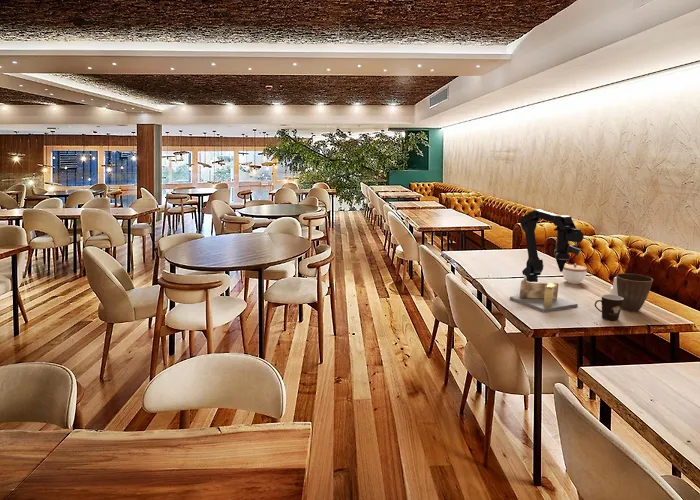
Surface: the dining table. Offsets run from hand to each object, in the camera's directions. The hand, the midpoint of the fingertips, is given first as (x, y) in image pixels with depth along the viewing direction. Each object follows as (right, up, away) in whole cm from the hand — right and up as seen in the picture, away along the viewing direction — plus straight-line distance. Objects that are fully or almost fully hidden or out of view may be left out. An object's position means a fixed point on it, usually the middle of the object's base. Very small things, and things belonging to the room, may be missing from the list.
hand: (560, 270), depth 246 cm
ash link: (-15, -13, -8) cm, 22 cm away
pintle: (-22, -5, -9) cm, 24 cm away
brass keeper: (-14, -17, -18) cm, 28 cm away
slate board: (-14, -16, -11) cm, 24 cm away
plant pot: (+24, -18, -20) cm, 36 cm away
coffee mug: (+6, -21, -32) cm, 39 cm away
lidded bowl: (+20, -9, +29) cm, 37 cm away
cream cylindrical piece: (+28, -15, -4) cm, 32 cm away
